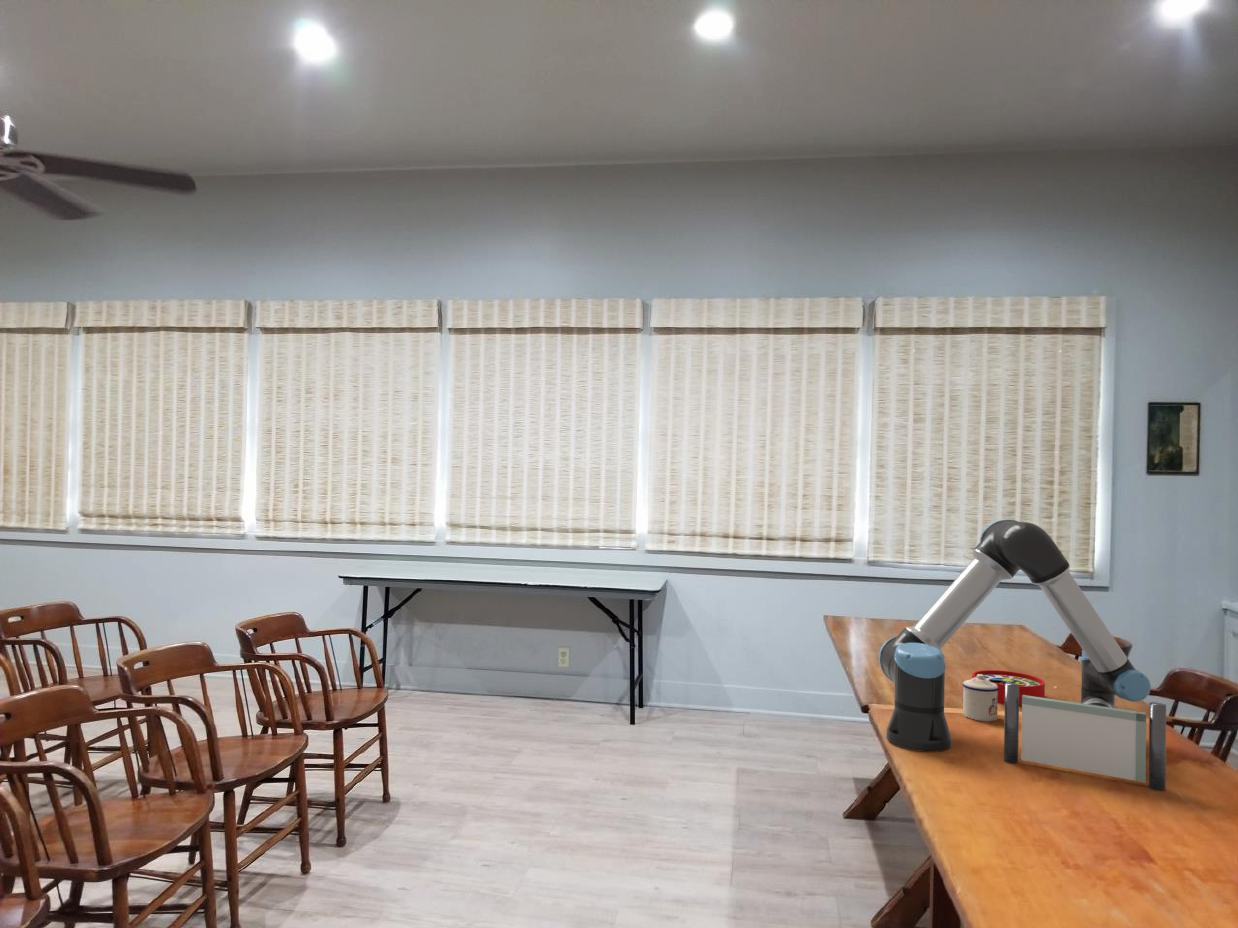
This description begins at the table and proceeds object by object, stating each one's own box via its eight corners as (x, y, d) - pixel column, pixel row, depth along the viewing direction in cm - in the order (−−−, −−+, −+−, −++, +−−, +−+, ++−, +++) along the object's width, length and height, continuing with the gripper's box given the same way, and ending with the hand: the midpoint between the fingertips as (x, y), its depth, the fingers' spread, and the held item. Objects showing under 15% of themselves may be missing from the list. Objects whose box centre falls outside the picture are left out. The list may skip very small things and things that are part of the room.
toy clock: (1039, 673, 250) (1050, 689, 231) (1039, 692, 250) (1049, 709, 231) (969, 667, 257) (974, 682, 238) (969, 685, 257) (974, 701, 238)
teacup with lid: (996, 723, 215) (996, 680, 216) (960, 718, 220) (960, 675, 220) (1000, 713, 226) (1001, 671, 226) (965, 707, 230) (966, 667, 231)
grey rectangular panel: (1021, 760, 184) (1022, 696, 185) (1022, 757, 186) (1022, 694, 186) (1145, 782, 172) (1146, 714, 172) (1145, 779, 174) (1145, 712, 174)
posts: (1003, 761, 186) (1004, 684, 186) (1004, 758, 189) (1005, 681, 189) (1165, 791, 170) (1166, 706, 170) (1165, 787, 172) (1165, 703, 172)
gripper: (1128, 737, 196) (1131, 765, 176) (1067, 727, 203) (1064, 754, 183) (1128, 706, 196) (1132, 731, 176) (1068, 698, 203) (1064, 721, 183)
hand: (1097, 743), depth 180 cm, fingers closed
